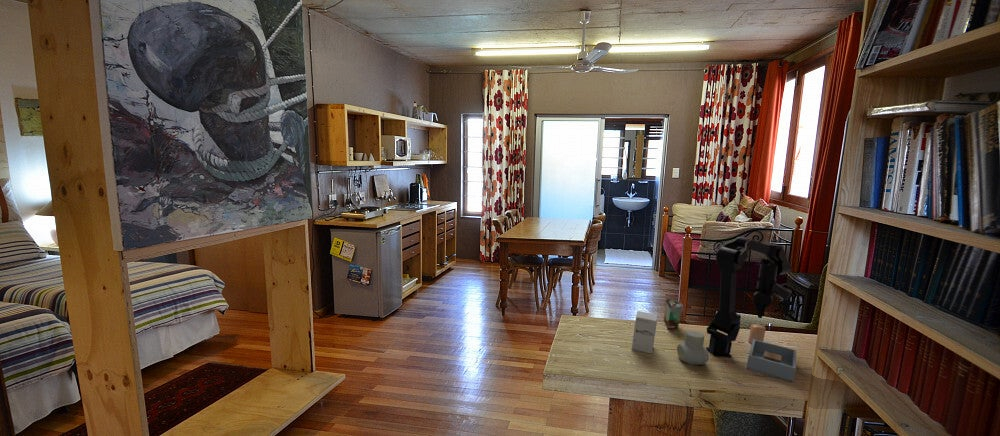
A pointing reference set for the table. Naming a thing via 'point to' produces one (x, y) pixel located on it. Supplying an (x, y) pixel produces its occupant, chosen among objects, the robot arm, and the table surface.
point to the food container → (672, 313)
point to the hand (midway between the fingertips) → (760, 314)
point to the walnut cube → (772, 357)
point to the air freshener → (693, 349)
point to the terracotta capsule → (756, 333)
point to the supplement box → (644, 332)
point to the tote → (772, 368)
